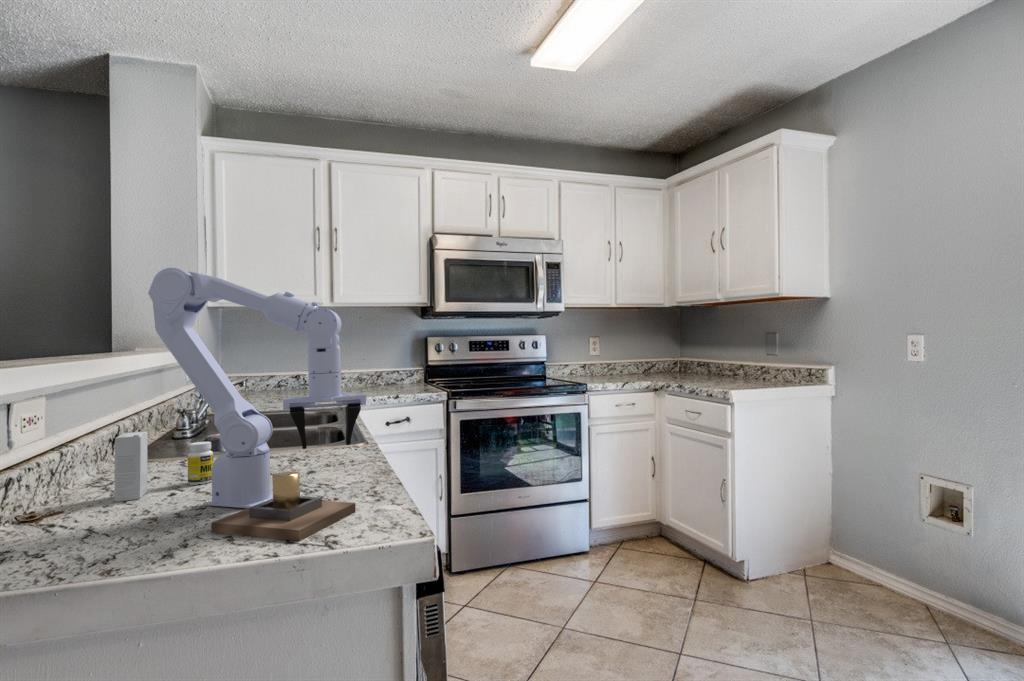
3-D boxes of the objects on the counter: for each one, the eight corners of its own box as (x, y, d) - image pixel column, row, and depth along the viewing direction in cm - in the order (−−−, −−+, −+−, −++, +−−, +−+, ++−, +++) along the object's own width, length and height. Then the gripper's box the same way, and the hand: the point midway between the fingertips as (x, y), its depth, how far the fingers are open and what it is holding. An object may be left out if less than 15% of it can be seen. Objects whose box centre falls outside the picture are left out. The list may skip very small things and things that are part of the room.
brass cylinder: (267, 515, 86) (266, 476, 86) (285, 507, 90) (284, 471, 90) (288, 516, 85) (288, 477, 85) (305, 509, 89) (304, 471, 89)
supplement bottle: (201, 485, 113) (201, 445, 113) (182, 485, 114) (181, 444, 114) (218, 480, 118) (218, 441, 118) (199, 479, 118) (199, 440, 119)
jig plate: (211, 532, 83) (211, 522, 83) (276, 505, 96) (276, 497, 96) (299, 540, 78) (299, 530, 78) (355, 511, 92) (355, 502, 92)
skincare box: (122, 494, 107) (121, 432, 108) (149, 491, 109) (148, 431, 109) (113, 502, 102) (112, 437, 102) (142, 499, 103) (140, 435, 104)
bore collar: (249, 517, 85) (249, 508, 85) (283, 504, 92) (283, 495, 92) (290, 521, 83) (290, 511, 83) (322, 506, 90) (321, 497, 90)
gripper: (281, 375, 95) (283, 453, 95) (367, 371, 101) (369, 445, 100) (282, 374, 102) (284, 447, 102) (363, 370, 107) (364, 440, 107)
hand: (326, 446), depth 102 cm, fingers open, 7 cm apart
